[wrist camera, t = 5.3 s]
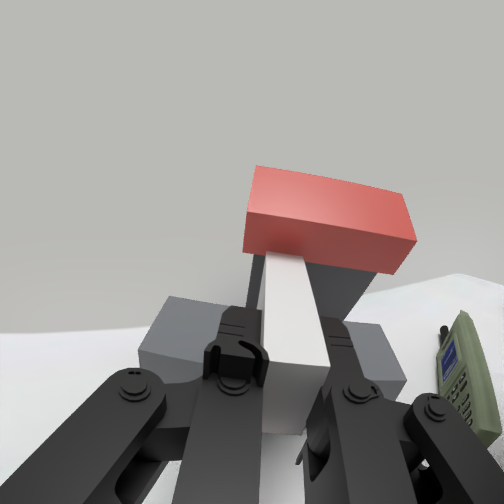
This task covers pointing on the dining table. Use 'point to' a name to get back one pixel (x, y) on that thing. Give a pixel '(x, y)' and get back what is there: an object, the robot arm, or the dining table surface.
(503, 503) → the robot arm
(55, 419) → the dining table surface
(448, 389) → the handheld radio
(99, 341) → the dining table surface
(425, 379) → the dining table surface
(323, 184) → the breaker lever
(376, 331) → the breaker box
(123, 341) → the dining table surface
